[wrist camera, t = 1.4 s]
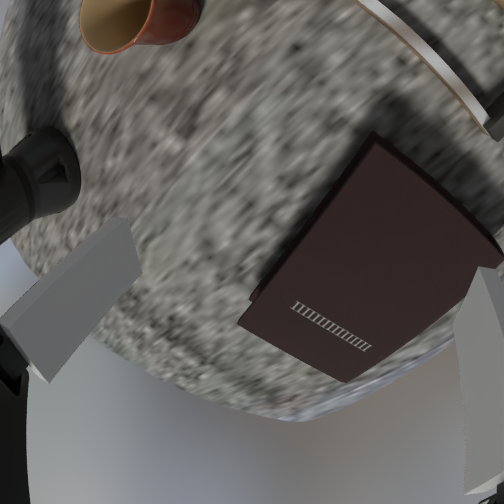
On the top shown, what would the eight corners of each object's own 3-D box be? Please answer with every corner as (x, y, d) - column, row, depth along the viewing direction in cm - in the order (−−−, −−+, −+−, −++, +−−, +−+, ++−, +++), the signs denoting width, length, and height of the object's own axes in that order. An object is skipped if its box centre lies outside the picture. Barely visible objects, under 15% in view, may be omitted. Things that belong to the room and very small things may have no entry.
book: (355, 356, 46) (351, 387, 41) (250, 295, 45) (236, 324, 41) (494, 236, 29) (510, 265, 24) (372, 130, 28) (375, 143, 23)
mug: (225, 17, 25) (173, 5, 17) (166, 64, 30) (104, 73, 22) (170, -47, 21) (110, -67, 13) (119, 0, 26) (56, -2, 18)
